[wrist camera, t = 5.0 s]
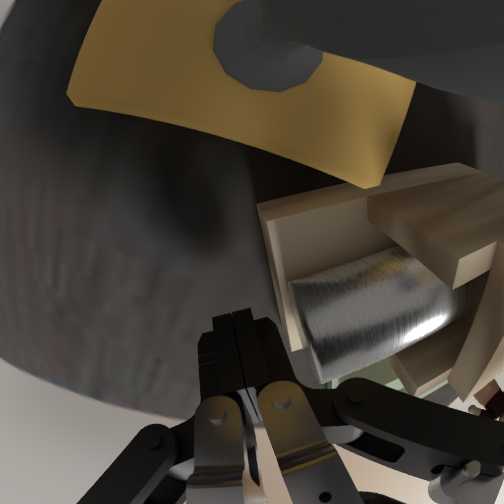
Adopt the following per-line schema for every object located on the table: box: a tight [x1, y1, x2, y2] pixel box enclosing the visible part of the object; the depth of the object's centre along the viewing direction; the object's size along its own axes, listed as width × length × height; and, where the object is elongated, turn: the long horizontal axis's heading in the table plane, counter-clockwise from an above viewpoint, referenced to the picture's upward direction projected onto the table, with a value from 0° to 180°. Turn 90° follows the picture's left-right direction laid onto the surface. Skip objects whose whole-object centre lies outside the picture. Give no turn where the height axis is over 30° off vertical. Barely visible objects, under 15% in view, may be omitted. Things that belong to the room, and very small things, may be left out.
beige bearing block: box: [256, 163, 504, 402], centre depth 10 cm, size 7×12×8 cm, turn 102°
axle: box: [288, 245, 491, 384], centre depth 10 cm, size 14×4×4 cm, turn 104°
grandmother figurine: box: [468, 379, 504, 422], centre depth 20 cm, size 8×4×13 cm, turn 121°
